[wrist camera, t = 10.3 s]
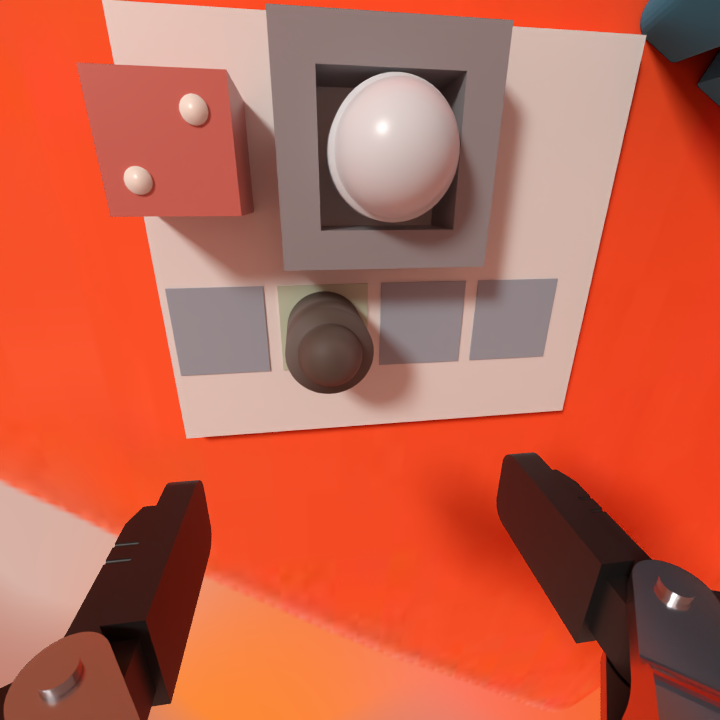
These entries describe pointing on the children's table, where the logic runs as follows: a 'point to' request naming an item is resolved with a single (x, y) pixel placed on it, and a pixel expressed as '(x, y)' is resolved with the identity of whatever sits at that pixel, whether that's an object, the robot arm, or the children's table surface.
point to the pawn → (327, 343)
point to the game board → (400, 285)
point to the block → (686, 34)
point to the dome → (393, 147)
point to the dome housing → (349, 69)
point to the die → (168, 140)
